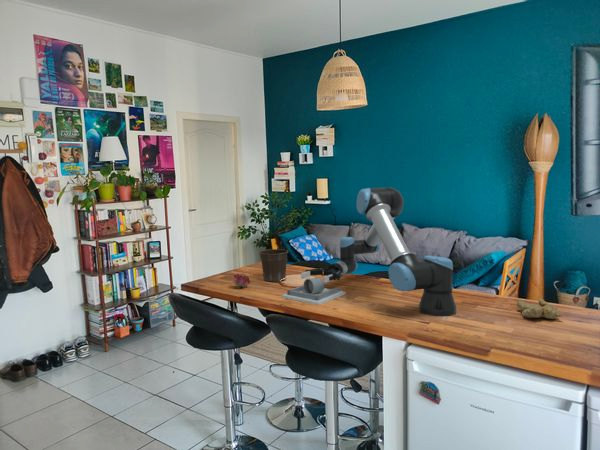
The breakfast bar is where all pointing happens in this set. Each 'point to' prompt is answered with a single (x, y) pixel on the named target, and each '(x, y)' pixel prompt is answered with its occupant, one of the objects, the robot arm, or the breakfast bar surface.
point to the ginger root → (539, 309)
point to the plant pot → (274, 264)
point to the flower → (241, 280)
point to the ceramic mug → (313, 285)
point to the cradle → (313, 295)
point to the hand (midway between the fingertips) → (312, 278)
